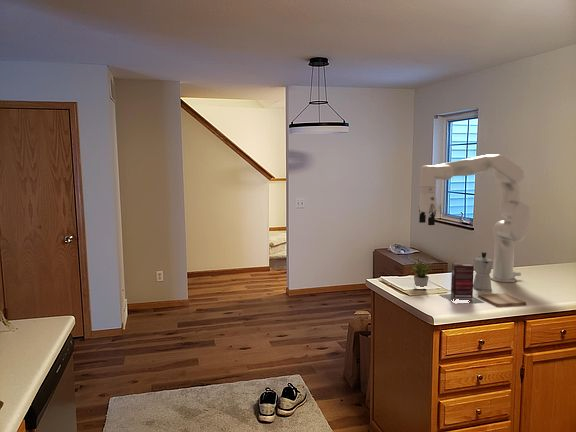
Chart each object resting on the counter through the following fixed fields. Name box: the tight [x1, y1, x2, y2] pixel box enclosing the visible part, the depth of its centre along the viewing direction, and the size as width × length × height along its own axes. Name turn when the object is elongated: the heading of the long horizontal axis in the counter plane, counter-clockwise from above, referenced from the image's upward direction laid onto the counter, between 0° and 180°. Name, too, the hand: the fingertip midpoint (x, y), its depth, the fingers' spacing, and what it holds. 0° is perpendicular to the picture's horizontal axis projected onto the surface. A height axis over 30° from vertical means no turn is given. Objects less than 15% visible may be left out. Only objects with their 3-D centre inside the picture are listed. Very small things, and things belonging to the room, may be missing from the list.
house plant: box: [407, 256, 436, 287], centre depth 215 cm, size 14×14×16 cm
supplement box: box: [450, 263, 475, 300], centre depth 199 cm, size 9×5×16 cm, turn 84°
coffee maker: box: [473, 252, 494, 291], centre depth 216 cm, size 15×9×18 cm, turn 168°
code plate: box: [440, 293, 485, 304], centre depth 200 cm, size 14×14×1 cm
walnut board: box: [477, 292, 527, 308], centre depth 196 cm, size 14×14×1 cm
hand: (426, 223), depth 221 cm, fingers open, 9 cm apart
